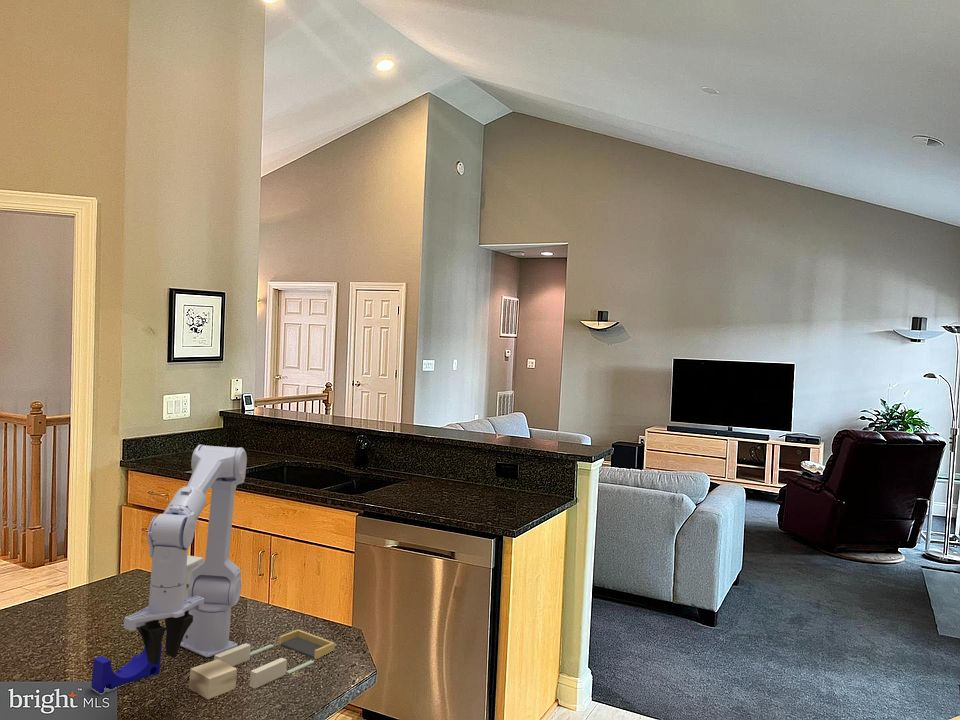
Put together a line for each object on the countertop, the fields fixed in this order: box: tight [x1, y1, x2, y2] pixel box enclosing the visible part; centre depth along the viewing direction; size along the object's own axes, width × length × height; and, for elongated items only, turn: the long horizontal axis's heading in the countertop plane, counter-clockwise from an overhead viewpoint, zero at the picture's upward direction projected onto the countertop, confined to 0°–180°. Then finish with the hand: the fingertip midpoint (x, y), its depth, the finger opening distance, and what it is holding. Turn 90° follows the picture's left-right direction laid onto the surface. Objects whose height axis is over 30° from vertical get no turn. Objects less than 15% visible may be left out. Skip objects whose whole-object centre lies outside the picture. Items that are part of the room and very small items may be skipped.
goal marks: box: [250, 644, 315, 675], centre depth 152 cm, size 13×7×1 cm, turn 59°
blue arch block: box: [91, 642, 163, 693], centre depth 138 cm, size 12×4×6 cm, turn 149°
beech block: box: [188, 659, 238, 700], centre depth 137 cm, size 6×6×4 cm
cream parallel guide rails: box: [213, 642, 288, 689], centre depth 145 cm, size 12×8×3 cm, turn 59°
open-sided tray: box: [278, 629, 336, 660], centre depth 159 cm, size 11×6×2 cm, turn 59°
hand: (162, 658), depth 127 cm, fingers open, 3 cm apart
